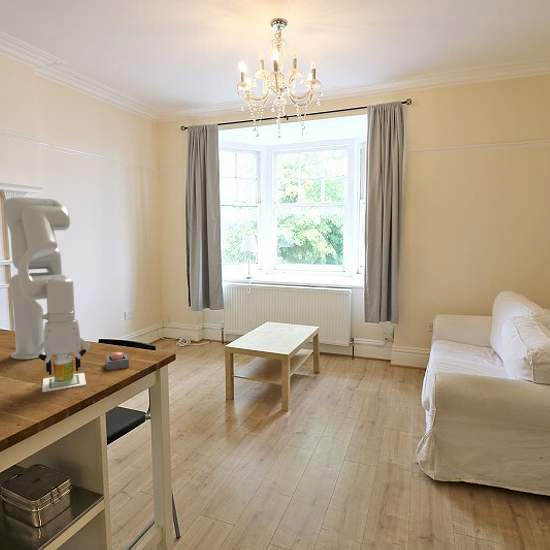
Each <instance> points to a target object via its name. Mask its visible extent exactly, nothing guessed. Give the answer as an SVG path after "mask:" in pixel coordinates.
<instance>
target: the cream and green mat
mask: <svg viewBox="0 0 550 550" xmlns="http://www.w3.org/2000/svg"><path fill="white" fill-rule="evenodd" d="M83 386H84V387H85V386H87V381H86V374H85V372H81V373H80V372H79V373H73V380H72V381H71V382H68V383H64V384H58V383H55V380H54V376H51V377H44V378H43V379H42V388H41V393H46V392H53V391H58V390H59V391H60V390H65V389H66V388H67V389H71V388H72V387H73V388H79V387H83ZM67 389H66V390H67Z"/></svg>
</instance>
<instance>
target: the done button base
mask: <svg viewBox="0 0 550 550" xmlns="http://www.w3.org/2000/svg"><path fill="white" fill-rule="evenodd" d="M105 366H106V368H107V369H106V370H107V371H113V369H115V370H120V369H119V368H122V369H128V368H130V359H129V357H128V355H127V353H123V359H121V360H113V361H111V355H106V356H105Z"/></svg>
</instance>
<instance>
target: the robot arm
mask: <svg viewBox="0 0 550 550" xmlns="http://www.w3.org/2000/svg"><path fill="white" fill-rule="evenodd" d="M2 214H3V218H4V220H5V223H6V225H7V227H8V229H9V232H10V246H11V247H10V248H11V258H12V265H13V267H14V268H16V269H17V274H15V275H13V276H11V277H10V278H9V281H8V288H9V292H10V297H11V300H12V308H13V323H14V324H13V325H14V337H15V339H14V340H15V341H14V342H15V351H13V352H12V353H11V356H10V357H11V358H12V359H14V360H24V361H25V360H33V359H38V358H39V359H40V360H41V361H43V362H44V363H45V372H46V373H48V376H50V375H52V360H51V358H52V357H53V356H55V355H59V354H67V353H70V354H74V356H75V357H74V359H75V360H74V361H75V365H74V366H75V372H79V368H81V367H82V366H81V365H82V364H81V359H82V357H83V356H84V355H85V354H86V353H87V352H88V350H89V349H90V348H91V343H89V342H88V341H86V340H85V339H83V338H81V331H80V325H79V321H78V320H77V319H76V317H75V316H76V314H75V312H76V311H75V294H74V293H75V290H74V289H75V288H74V281H73V279H72V278H70V277H68V276H67V275H65V274H63V273H62V272H63V270H62V269H63V268H62V257H61V251H60V248H58V242H57V239H56V235H55V231H67V230H68V229H69V228H70V225H71V218H70V214H69V212H68V210H67V208H66V207H65V205H63V204H61V203H60V202H59V201H58V200H56V199H51V198H38V197H36V198H35V197H23V196H21V197H19V196H18V197H17V196H16V197H14V196H13V197H9V198H6V199H5V200H4V201H3V202H2ZM30 270H31V271H32V270H46V271H45V272H30ZM37 300H46V311H47V312H46V313H45V314H44V311H43V310H44V309H43V307H42V305H41V304H40V303H39V302H37ZM44 320H46V321H45V322H44ZM81 345H82V346H83V348H82V349H81V347H82V346H81Z"/></svg>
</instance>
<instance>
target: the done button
mask: <svg viewBox="0 0 550 550" xmlns="http://www.w3.org/2000/svg"><path fill="white" fill-rule="evenodd" d="M123 354H124V352H122V351H115V352H112V353H110V356H111V361H113V360H121V359H123Z"/></svg>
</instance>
